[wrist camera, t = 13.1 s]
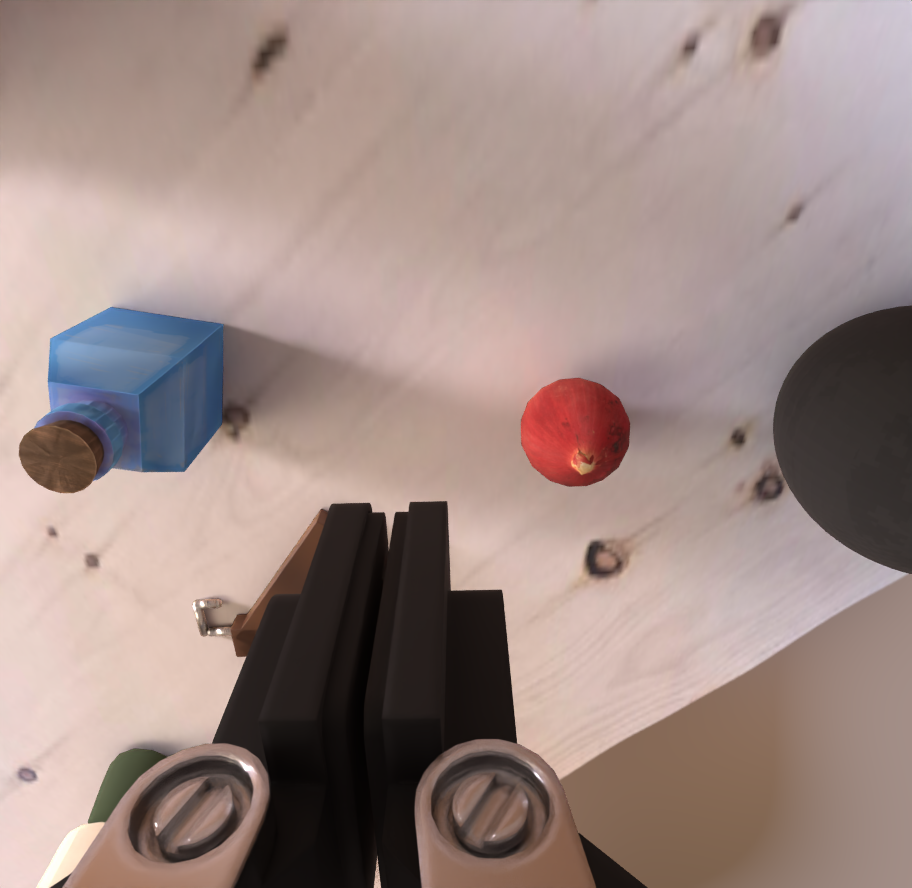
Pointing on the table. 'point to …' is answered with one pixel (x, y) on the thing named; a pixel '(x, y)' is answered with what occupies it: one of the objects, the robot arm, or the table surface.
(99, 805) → the character mug
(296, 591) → the hanger
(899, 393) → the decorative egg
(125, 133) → the table surface
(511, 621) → the table surface
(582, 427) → the onion
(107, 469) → the perfume bottle
